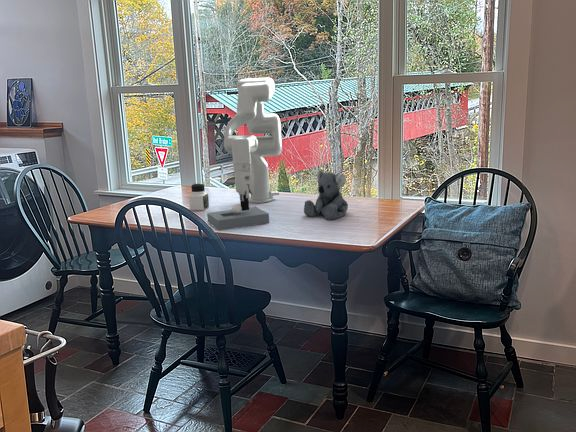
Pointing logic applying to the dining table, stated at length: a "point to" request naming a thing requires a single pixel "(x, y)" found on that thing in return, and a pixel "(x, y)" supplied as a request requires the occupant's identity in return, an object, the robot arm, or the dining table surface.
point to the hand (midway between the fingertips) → (245, 209)
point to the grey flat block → (237, 218)
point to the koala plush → (328, 197)
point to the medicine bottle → (198, 197)
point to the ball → (236, 208)
